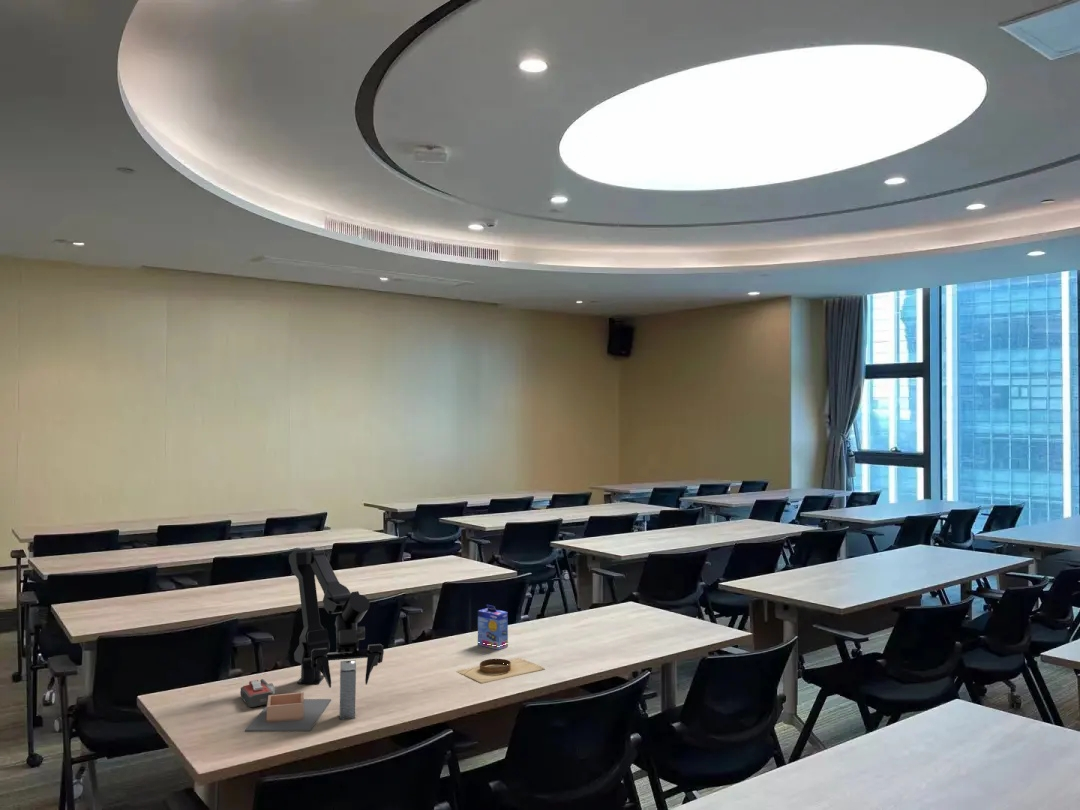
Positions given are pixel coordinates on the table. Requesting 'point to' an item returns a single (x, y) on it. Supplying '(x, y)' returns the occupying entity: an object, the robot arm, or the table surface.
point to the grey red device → (257, 692)
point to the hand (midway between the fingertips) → (348, 685)
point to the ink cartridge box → (492, 627)
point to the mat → (310, 717)
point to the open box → (285, 707)
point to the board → (499, 670)
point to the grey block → (347, 689)
